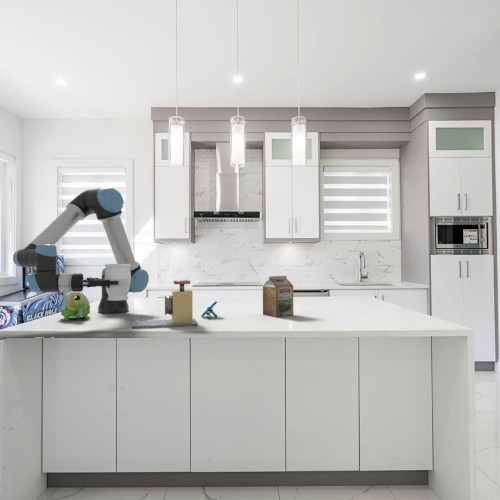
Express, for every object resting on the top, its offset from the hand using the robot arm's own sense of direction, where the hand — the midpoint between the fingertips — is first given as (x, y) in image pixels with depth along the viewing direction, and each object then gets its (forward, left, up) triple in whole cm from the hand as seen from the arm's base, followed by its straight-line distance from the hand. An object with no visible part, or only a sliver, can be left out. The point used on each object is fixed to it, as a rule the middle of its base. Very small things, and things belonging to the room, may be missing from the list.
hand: (128, 281), depth 165 cm
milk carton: (-9, +69, -18) cm, 72 cm away
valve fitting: (+5, +16, -18) cm, 25 cm away
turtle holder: (-21, -24, -18) cm, 37 cm away
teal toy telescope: (-11, +36, -18) cm, 42 cm away
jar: (0, -4, -8) cm, 9 cm away
